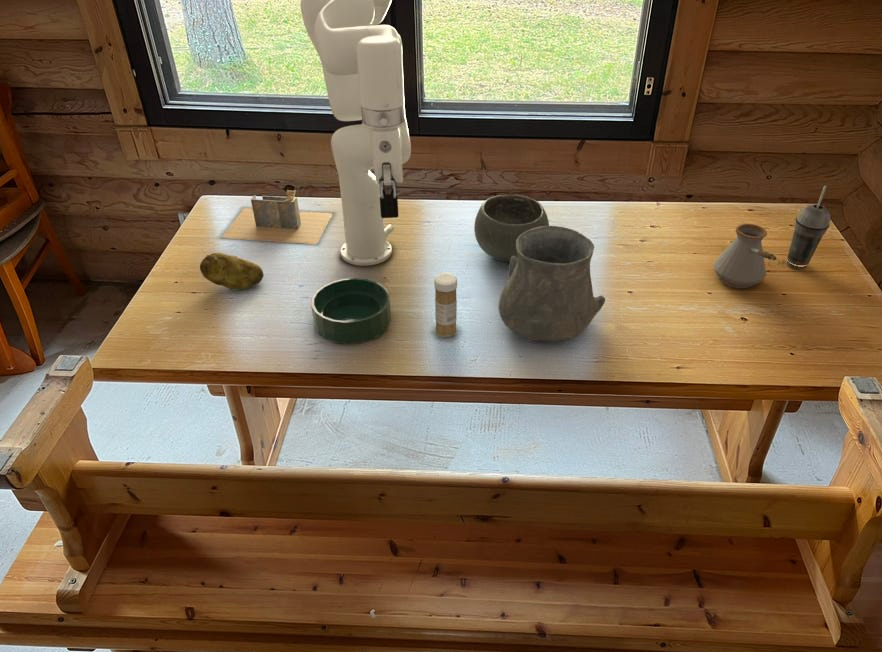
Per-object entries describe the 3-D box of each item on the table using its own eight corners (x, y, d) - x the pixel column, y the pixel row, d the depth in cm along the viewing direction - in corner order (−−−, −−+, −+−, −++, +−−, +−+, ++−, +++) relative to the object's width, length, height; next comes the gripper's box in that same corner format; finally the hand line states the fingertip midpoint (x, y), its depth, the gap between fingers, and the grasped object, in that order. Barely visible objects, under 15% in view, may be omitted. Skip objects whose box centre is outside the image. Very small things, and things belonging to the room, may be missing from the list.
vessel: (609, 358, 139) (625, 273, 126) (499, 356, 139) (504, 272, 126) (593, 297, 155) (606, 217, 142) (495, 295, 156) (499, 216, 143)
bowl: (528, 231, 178) (532, 186, 170) (558, 267, 165) (564, 219, 157) (463, 242, 174) (464, 196, 166) (489, 279, 161) (491, 231, 153)
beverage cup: (779, 269, 164) (807, 192, 151) (780, 254, 169) (807, 178, 157) (812, 275, 162) (843, 197, 149) (812, 260, 167) (842, 184, 154)
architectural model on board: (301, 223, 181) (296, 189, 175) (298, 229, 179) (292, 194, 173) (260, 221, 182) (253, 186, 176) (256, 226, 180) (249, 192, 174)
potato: (254, 298, 155) (247, 268, 150) (200, 292, 156) (192, 262, 151) (268, 278, 161) (262, 248, 156) (216, 273, 163) (209, 243, 158)
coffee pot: (705, 265, 166) (721, 208, 156) (754, 266, 165) (773, 210, 155) (727, 317, 149) (747, 258, 140) (781, 319, 149) (805, 260, 139)
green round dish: (328, 297, 155) (325, 274, 151) (398, 304, 153) (397, 281, 149) (304, 341, 143) (300, 317, 139) (380, 349, 141) (378, 326, 137)
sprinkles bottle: (452, 323, 147) (452, 270, 139) (459, 335, 144) (460, 281, 136) (432, 328, 146) (431, 274, 138) (439, 340, 143) (438, 286, 134)
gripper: (407, 131, 113) (411, 225, 124) (402, 97, 127) (406, 185, 137) (361, 133, 113) (369, 227, 123) (361, 99, 126) (369, 187, 137)
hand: (389, 205), depth 130 cm, fingers open, 9 cm apart
